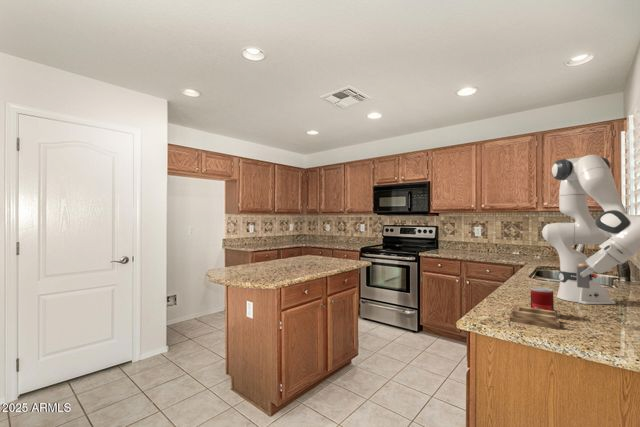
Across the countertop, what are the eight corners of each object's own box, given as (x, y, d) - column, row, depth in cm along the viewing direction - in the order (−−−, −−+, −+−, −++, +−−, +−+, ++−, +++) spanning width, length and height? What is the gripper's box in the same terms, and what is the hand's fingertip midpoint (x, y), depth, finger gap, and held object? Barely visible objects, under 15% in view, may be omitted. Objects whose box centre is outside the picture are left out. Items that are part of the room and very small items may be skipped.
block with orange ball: (588, 286, 122) (588, 263, 122) (589, 288, 119) (589, 265, 119) (576, 285, 124) (576, 263, 124) (577, 287, 121) (577, 264, 121)
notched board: (558, 321, 122) (558, 311, 122) (559, 329, 113) (559, 318, 113) (511, 313, 131) (511, 304, 131) (509, 320, 122) (509, 311, 123)
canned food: (557, 317, 126) (557, 291, 126) (536, 316, 128) (535, 290, 128) (547, 312, 134) (547, 287, 134) (527, 310, 135) (527, 286, 135)
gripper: (601, 243, 125) (571, 264, 131) (610, 248, 109) (575, 272, 115) (616, 255, 123) (585, 276, 129) (628, 261, 106) (591, 285, 112)
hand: (580, 274), depth 122 cm, fingers closed on block with orange ball, 4 cm apart
